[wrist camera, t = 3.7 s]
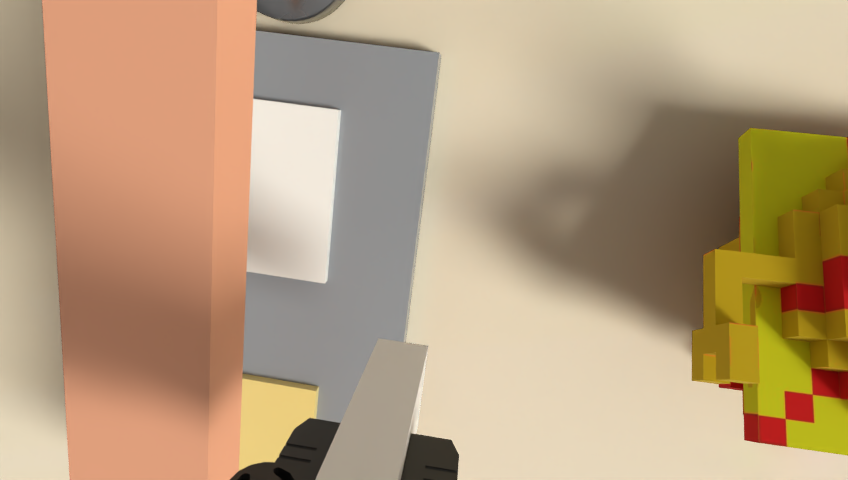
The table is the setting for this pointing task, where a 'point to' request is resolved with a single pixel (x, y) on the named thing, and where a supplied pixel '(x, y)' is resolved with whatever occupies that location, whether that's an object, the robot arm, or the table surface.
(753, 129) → the toy
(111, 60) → the swing arm
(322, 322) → the label board
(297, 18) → the pivot pedestal
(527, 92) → the table surface
